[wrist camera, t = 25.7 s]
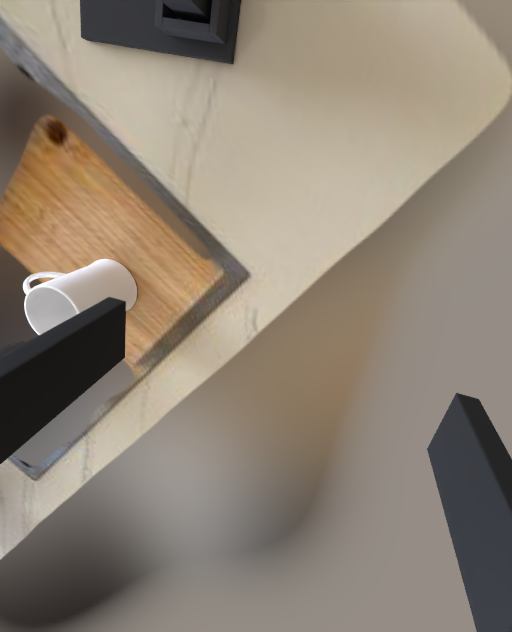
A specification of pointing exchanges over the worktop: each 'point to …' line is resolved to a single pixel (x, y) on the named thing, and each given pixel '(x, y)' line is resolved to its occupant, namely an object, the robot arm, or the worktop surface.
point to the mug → (76, 292)
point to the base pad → (162, 28)
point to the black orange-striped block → (191, 9)
